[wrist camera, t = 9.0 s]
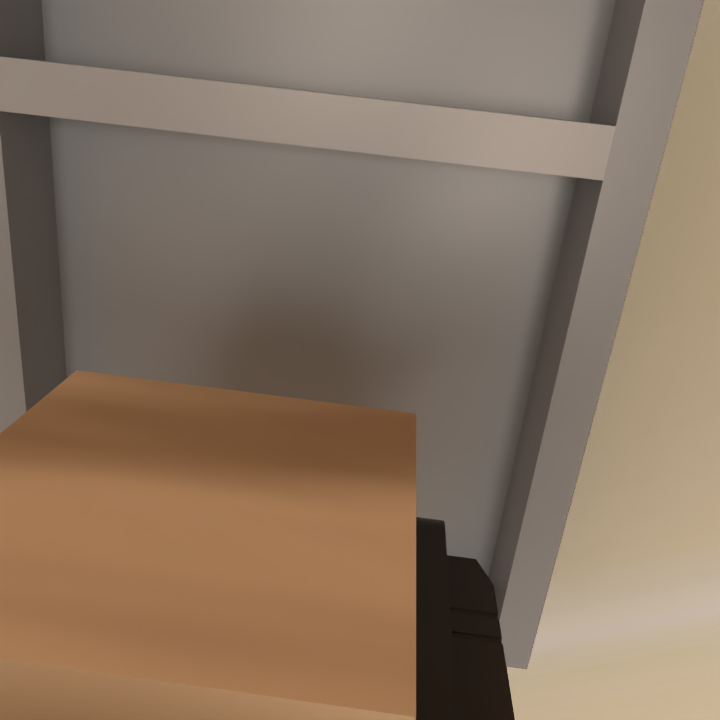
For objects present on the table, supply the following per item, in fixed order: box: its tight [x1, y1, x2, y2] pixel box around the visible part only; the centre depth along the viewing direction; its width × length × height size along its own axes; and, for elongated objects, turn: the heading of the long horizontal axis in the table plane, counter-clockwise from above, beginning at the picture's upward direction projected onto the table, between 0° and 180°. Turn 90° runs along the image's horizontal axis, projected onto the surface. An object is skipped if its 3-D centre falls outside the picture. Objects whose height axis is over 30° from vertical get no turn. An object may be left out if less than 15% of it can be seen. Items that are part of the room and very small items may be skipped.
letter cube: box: [0, 370, 416, 720], centre depth 8 cm, size 5×5×5 cm
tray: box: [0, 0, 704, 669], centre depth 14 cm, size 26×14×3 cm, turn 174°
